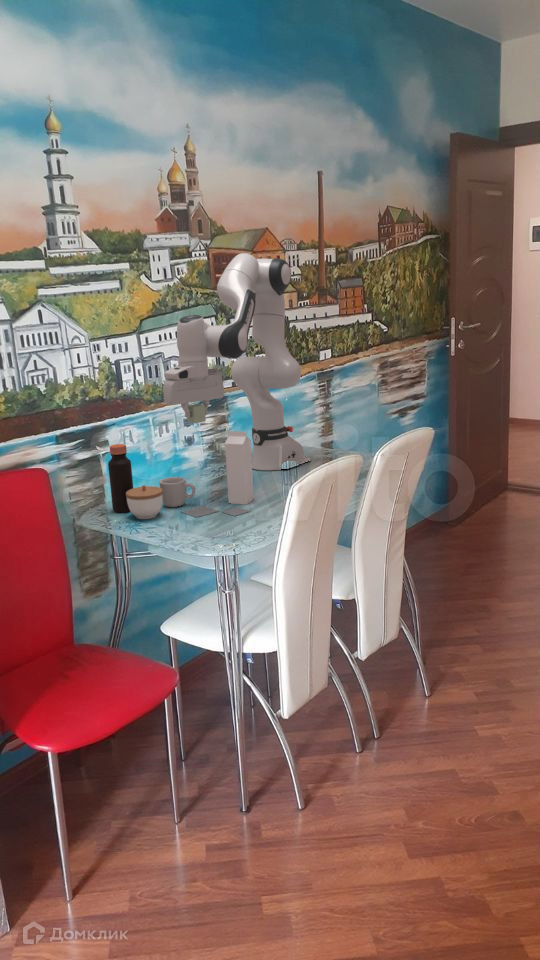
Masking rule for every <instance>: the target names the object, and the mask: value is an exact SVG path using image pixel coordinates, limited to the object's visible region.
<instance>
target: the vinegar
mask: <svg viewBox="0 0 540 960" xmlns="http://www.w3.org/2000/svg"><path fill="white" fill-rule="evenodd" d="M109 453H110V456H111V458H110V459H109V461H108V463H107V465H108V476H109V486H110V494H111V495H110V497H111V505H112V511H113V512H115V513H121V514H122V513H129V512H131V511H130V510H129V507H128V504H127V497H126V492H127V491H128V490H130V489H133V488H134V481H133V472H132V471H133V470H132V462H131V459H129V458H128V457H127V445H126V444H124V443H116V444H112V445H110V446H109Z"/></svg>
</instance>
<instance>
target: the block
mask: <svg viewBox="0 0 540 960" xmlns="http://www.w3.org/2000/svg"><path fill="white" fill-rule="evenodd" d="M188 409H189V411H191V412H192V417H190V418H186V420H187V422H186V423H190V424H191V423H193V424H198V423H204V422H206V415H205V405H203V404H200V403H193V404H189V406H188Z"/></svg>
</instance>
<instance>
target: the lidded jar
mask: <svg viewBox="0 0 540 960" xmlns="http://www.w3.org/2000/svg"><path fill="white" fill-rule="evenodd" d="M162 493H163V490H162V489H161V488H160V486H155V485H153V486H152V485H149V486H146V485H145V484H144V485H141V486H138V487H133V489H130V490H128V491H127V492H126V497H127V504H128V507H129V510H130V512H131V514H132V515H133V516H135V518H136V519H138V520H149V519H154V518H156V517H158V514H159V513H160V512H161V510H162V508H163V504H164V503H163V494H162Z"/></svg>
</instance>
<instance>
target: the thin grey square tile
mask: <svg viewBox="0 0 540 960" xmlns="http://www.w3.org/2000/svg"><path fill="white" fill-rule="evenodd" d="M218 511H219V510H218V509H215V508H211V507H208V506H205V505H200V506H197V507H193V508H191V509H186V510H183V511H181V512H182V513H181V514H184V513H185V515H187V514H188V516H191V517H193V516H194V517H193V518H196V517H198V518H200V517H204V515H205V516H208V515H211V514H214V513H218Z"/></svg>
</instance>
